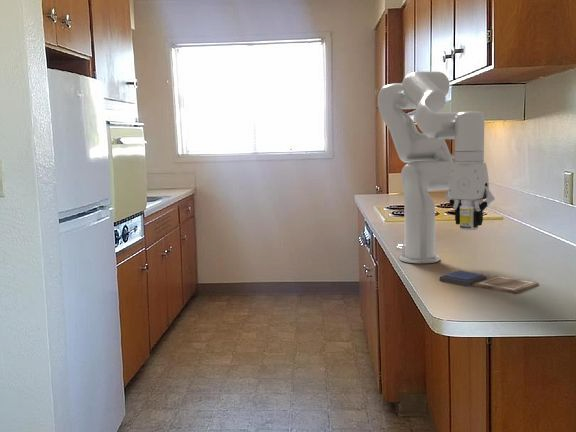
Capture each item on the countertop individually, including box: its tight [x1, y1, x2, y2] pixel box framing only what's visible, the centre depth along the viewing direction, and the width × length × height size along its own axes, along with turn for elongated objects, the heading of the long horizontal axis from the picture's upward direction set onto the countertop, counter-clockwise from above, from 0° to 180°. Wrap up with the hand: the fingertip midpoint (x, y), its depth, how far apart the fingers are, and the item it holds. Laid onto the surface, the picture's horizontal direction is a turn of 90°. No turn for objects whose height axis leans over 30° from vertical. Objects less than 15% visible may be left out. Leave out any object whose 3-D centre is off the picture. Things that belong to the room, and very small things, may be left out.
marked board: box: [472, 275, 540, 295], centre depth 161 cm, size 12×12×1 cm
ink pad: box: [439, 270, 488, 287], centre depth 167 cm, size 9×9×2 cm
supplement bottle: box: [459, 200, 479, 231], centre depth 166 cm, size 5×5×8 cm
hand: (468, 223), depth 166 cm, fingers closed on supplement bottle, 4 cm apart
